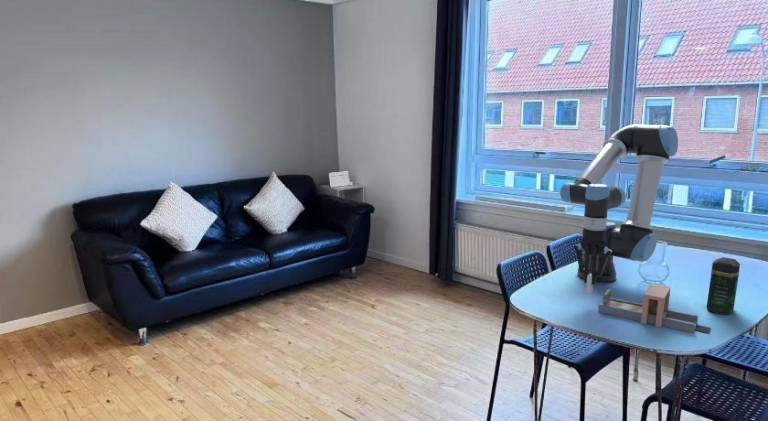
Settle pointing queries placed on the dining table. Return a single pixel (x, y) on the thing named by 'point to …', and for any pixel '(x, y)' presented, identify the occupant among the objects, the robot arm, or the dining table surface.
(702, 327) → the dark grey flat block
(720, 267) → the coffee jar
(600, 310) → the rail
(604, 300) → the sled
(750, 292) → the dining table surface
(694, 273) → the dining table surface
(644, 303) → the tunnel
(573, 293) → the dining table surface
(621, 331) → the dining table surface
